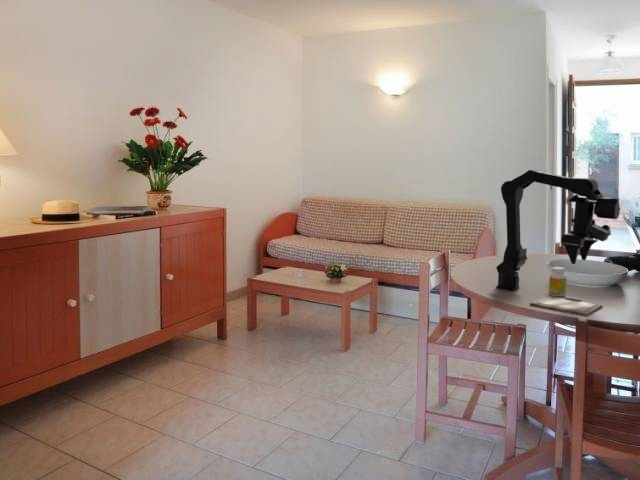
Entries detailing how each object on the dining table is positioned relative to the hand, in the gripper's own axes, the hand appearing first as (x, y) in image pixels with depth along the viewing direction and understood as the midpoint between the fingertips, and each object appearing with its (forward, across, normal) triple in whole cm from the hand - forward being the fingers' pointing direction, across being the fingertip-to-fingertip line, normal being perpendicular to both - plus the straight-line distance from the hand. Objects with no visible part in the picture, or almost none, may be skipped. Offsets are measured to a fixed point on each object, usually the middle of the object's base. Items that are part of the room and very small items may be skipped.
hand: (578, 261), depth 189 cm
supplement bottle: (+14, +2, +7) cm, 15 cm away
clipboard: (+13, -11, -1) cm, 17 cm away
